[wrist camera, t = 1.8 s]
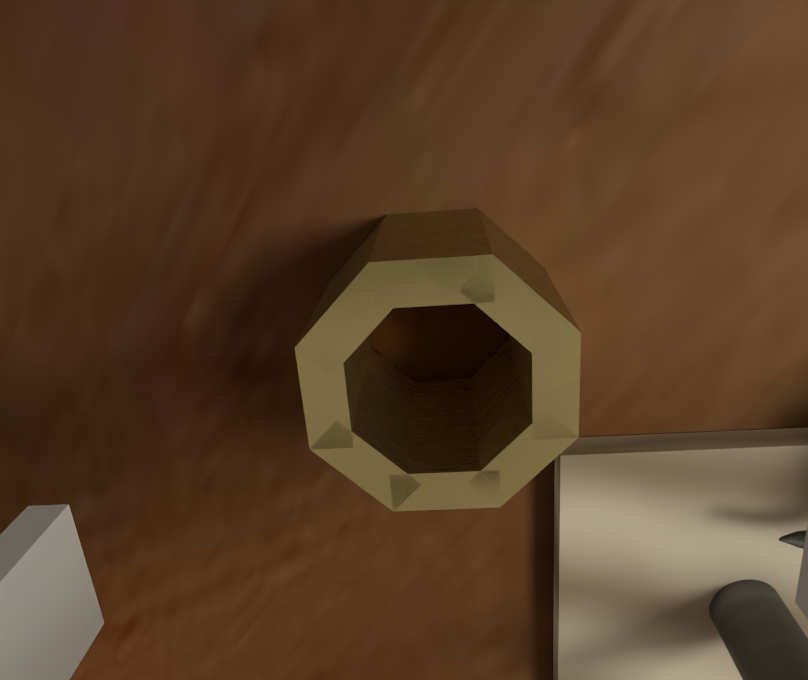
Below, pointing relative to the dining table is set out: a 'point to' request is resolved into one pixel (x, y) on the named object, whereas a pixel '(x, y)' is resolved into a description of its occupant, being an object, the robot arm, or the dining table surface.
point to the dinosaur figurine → (795, 538)
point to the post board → (680, 556)
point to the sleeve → (440, 399)
